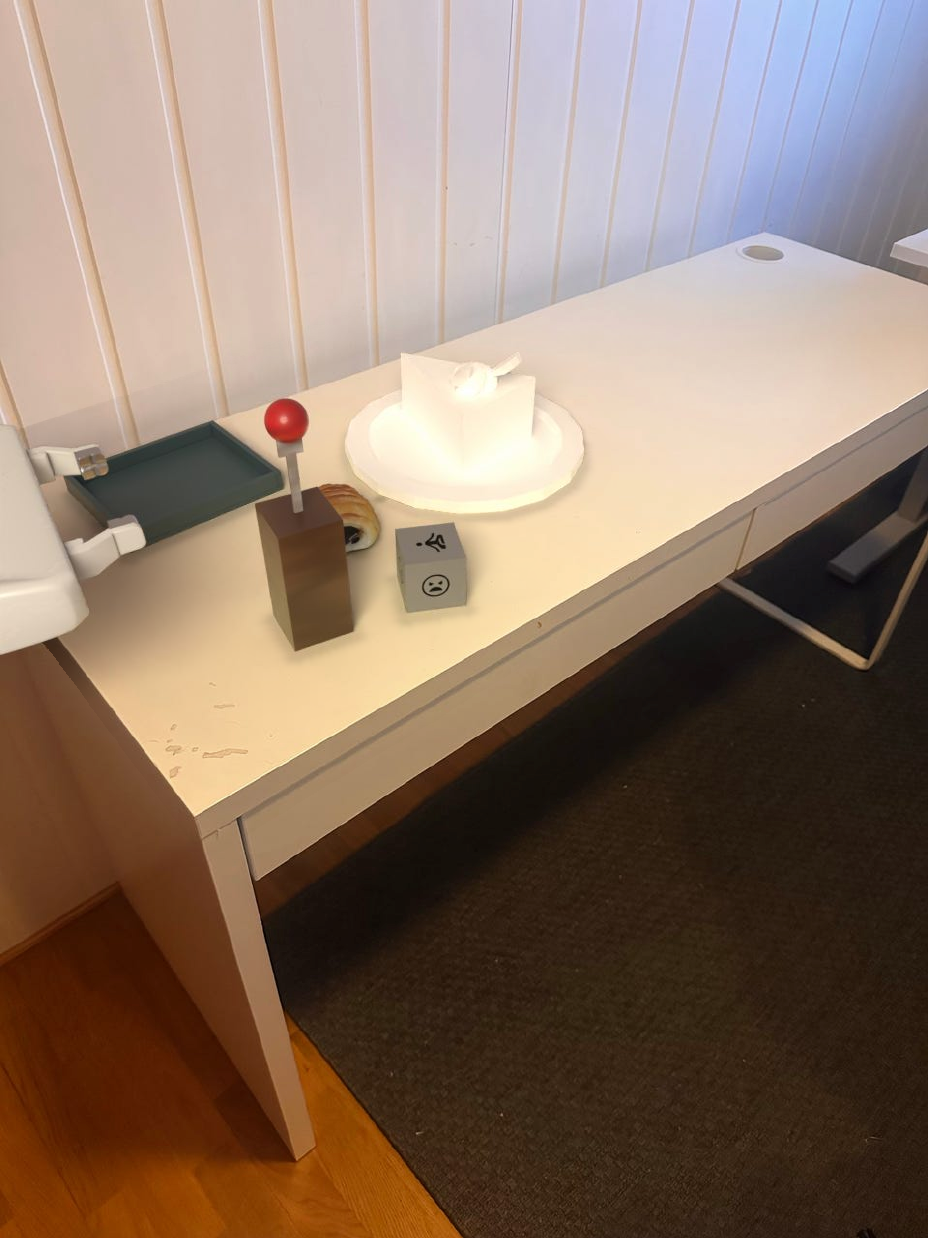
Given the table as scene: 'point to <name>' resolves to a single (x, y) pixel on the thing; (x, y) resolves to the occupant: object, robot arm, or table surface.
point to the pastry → (353, 515)
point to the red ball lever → (303, 544)
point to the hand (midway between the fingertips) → (122, 491)
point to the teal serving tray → (177, 481)
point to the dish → (464, 439)
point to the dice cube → (431, 567)
